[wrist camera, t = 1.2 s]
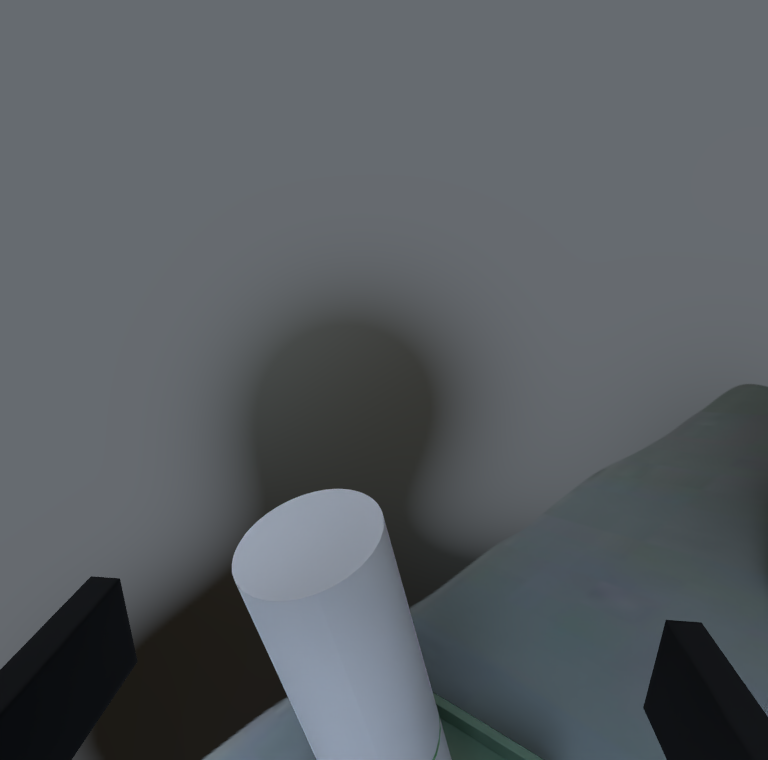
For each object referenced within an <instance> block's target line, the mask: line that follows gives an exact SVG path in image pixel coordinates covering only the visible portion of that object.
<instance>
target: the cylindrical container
mask: <svg viewBox="0 0 768 760" xmlns="http://www.w3.org/2000/svg"><path fill="white" fill-rule="evenodd" d="M232 574H233V577H234V580H235V582H236V585H237V587H238V589H239V591H240V594H241V596H242V598H243V600H244V602H245V604H246V607H247V609H248V611H249V613H250V615H251V617H252V620H253V622H254V624H255V626H256V628H257V630H258V633H259V635H260V637H261V639H262V641H263V643H264V646H265V648H266V650H267V652H268V654H269V656H270V659H271V661H272V663H273V665H274V667H275V670H276V672H277V674H278V676H279V678H280V680H281V683H282V685H283V687H284V689H285V691H286V694H287V696H288V698H289V700H290V703H291V705H292V707H293V709H294V711H295V714H296V716H297V718H298V720H299V722H300V725H301V727H302V729H303V731H304V734H305V736H306V738H307V740H308V742H309V745H310V747H311V749H312V751H313V754H314V756H315V758H316V760H452V759H451V756H450V752H449V748H448V745H447V741H446V738H445V734H444V731H443V727H442V723H441V720H440V716H439V713H438V709H437V706H436V702H435V699H434V695H433V691H432V688H431V684H430V681H429V677H428V674H427V670H426V666H425V663H424V659H423V656H422V652H421V649H420V645H419V642H418V638H417V634H416V631H415V627H414V624H413V620H412V617H411V613H410V609H409V606H408V603H407V599H406V595H405V592H404V588H403V585H402V581H401V578H400V574H399V570H398V567H397V563H396V560H395V556H394V552H393V549H392V545H391V542H390V538H389V535H388V531H387V527H386V524H385V520H384V517H383V513H382V510H381V509H380V507H379V505H378V504H377V503H376V502H375V501H374V500H373V499H372V498H371V497H369V496H367V495H365V494H363V493H361V492H357V491H354V490H348V489H327V490H322V491H316V492H312V493H308V494H305V495H302V496H299V497H297V498H294V499H292V500H290V501H288V502H286V503H284V504H282V505H280V506H278V507H277V508H275V509H273V510H272V511H270V512H269V513H267V514H266V515H265V516H263V517H262V518H261V519H260V520H259V521H257V522H256V523H255V524H254V525H253V526H252V527H251V529H249V530H248V532H247V533H246V534H245V535H244V537H243V539H242V540H241V541H240V543H239V545H238V547H237V549H236V551H235V553H234V557H233V561H232Z"/></svg>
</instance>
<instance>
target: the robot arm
mask: <svg viewBox="0 0 768 760" xmlns="http://www.w3.org/2000/svg"><path fill="white" fill-rule="evenodd" d="M136 663H137V658H136V653H135V648H134V643H133V639H132V634H131V629H130V625H129V620H128V615H127V611H126V606H125V601H124V596H123V591H122V587H121V582H120V579H117V578H104V577H90V578H89V579H88V580H87V581H86V582H85V583H84V584H83V585H82V586H81V587H80V589H79V590H77V591H76V593H75V594H74V595H73V596H72V597H71V598H70V599H69V600H68V601H67V602H66V603H65V604H64V605H63V606H62V607H61V608H60V609H59V610H58V611H57V612H56V613H55V614H54V615H53V616H52V617H51V618H50V619H49V620H48V621H47V622H46V623H45V624H44V626H42V628H41V629H40V630H39V631H38V632H37V633H36V634H35V635H34V636H33V637H32V638H31V639H30V640H29V641H28V642H27V643H26V644H25V645H24V646H23V647H22V648H21V649H20V650H19V651H18V652H17V653H16V654H15V655H14V656H13V657H12V658H11V659H10V661H8V662H7V664H6V665H5V666H4V667H3V668H2V669H1V670H0V760H72V758H73V757H74V755H75V754H76V752H77V751H78V749H79V748H80V746H81V745H82V743H83V742H84V740H85V739H86V737H87V736H88V734H89V733H90V731H91V730H92V728H93V727H94V725H95V724H96V722H97V721H98V719H99V718H100V716H101V715H102V713H103V712H104V711H105V709H106V708H107V706H108V705H109V703H110V702H111V700H112V699H113V697H114V696H115V694H116V693H117V691H118V690H119V688H120V687H121V685H122V684H123V682H124V681H125V679H126V678H127V676H128V675H129V673H130V672H131V670H132V669H133V667H134V666H135V664H136ZM643 708H644V710H645V712H646V715H647V717H648V719H649V721H650V723H651V725H652V728H653V730H654V732H655V734H656V736H657V739H658V741H659V743H660V745H661V747H662V750H663V752H664V754H665V756H666V758H667V760H768V717H767V715H766V714H765V712H764V711H763V710H762V708H761V707H760V705H759V704H758V702H757V701H756V700H755V698H754V697H753V695H752V694H751V692H750V691H749V690H748V688H747V687H746V685H745V684H744V683H743V681H742V680H741V678H740V677H739V675H738V674H737V673H736V671H735V670H734V668H733V667H732V665H731V664H730V663H729V661H728V660H727V658H726V657H725V655H724V654H723V653H722V651H721V650H720V648H719V647H718V646H717V644H716V643H715V641H714V640H713V638H712V637H711V636H710V634H709V633H708V631H707V630H706V628H705V627H704V626H703V624H702V623H699V622H686V621H673V620H666V622H665V626H664V630H663V634H662V638H661V641H660V645H659V649H658V653H657V657H656V661H655V665H654V669H653V672H652V676H651V680H650V684H649V688H648V692H647V696H646V700H645V703H644V707H643Z"/></svg>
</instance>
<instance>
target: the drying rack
mask: <svg viewBox="0 0 768 760" xmlns="http://www.w3.org/2000/svg"><path fill="white" fill-rule="evenodd" d="M433 695H434V699H435V702H436V706H437V709H438V713H439V716H440V720H441V723H442V727H443V731H444V734H445V738H446V741H447V745H448V748H449V752H450V756H451V759H452V760H544V759H542V758H540V757H539V756H537V755H536V754H534V753H532V752H531V751H529V750H527V749H526V748H524V747H522V746H521V745H519V744H517V743H516V742H514V741H513V740H511V739H509V738H508V737H506V736H504V735H503V734H501V733H499V732H498V731H496V730H494V729H493V728H491V727H490V726H488V725H486V724H485V723H483V722H481V721H480V720H478V719H476V718H475V717H473V716H471V715H470V714H468V713H467V712H465V711H463V710H462V709H460V708H458V707H457V706H455V705H453V704H452V703H450V702H448V701H447V700H445V699H444V698H442V697H440V696H439V695H437V694H435V693H434V692H433Z"/></svg>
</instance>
